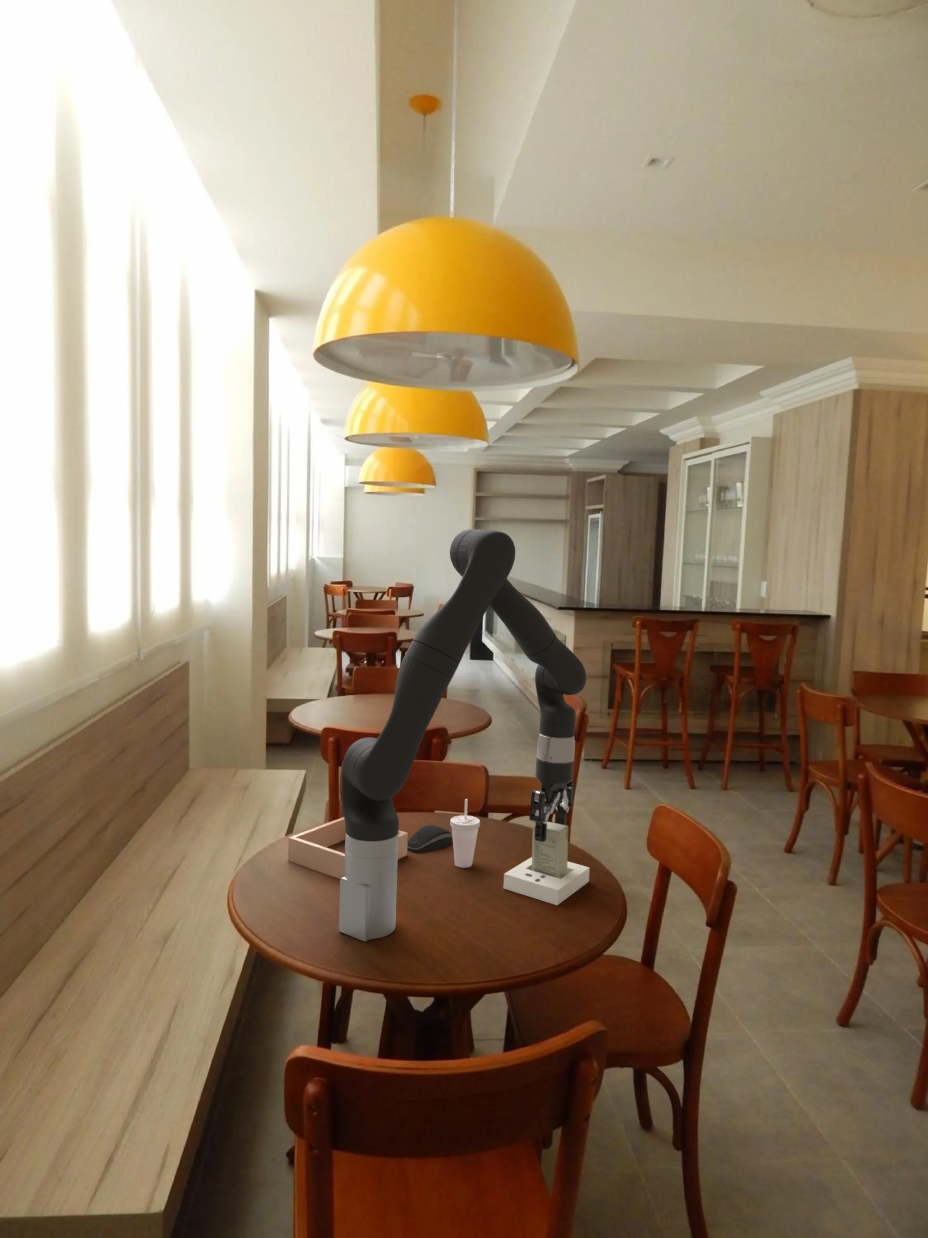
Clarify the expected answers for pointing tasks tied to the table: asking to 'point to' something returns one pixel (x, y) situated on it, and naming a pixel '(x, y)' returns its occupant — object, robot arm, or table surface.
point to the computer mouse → (429, 839)
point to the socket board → (545, 882)
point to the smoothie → (464, 838)
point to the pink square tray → (318, 857)
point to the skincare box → (551, 851)
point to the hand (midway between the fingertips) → (550, 835)
